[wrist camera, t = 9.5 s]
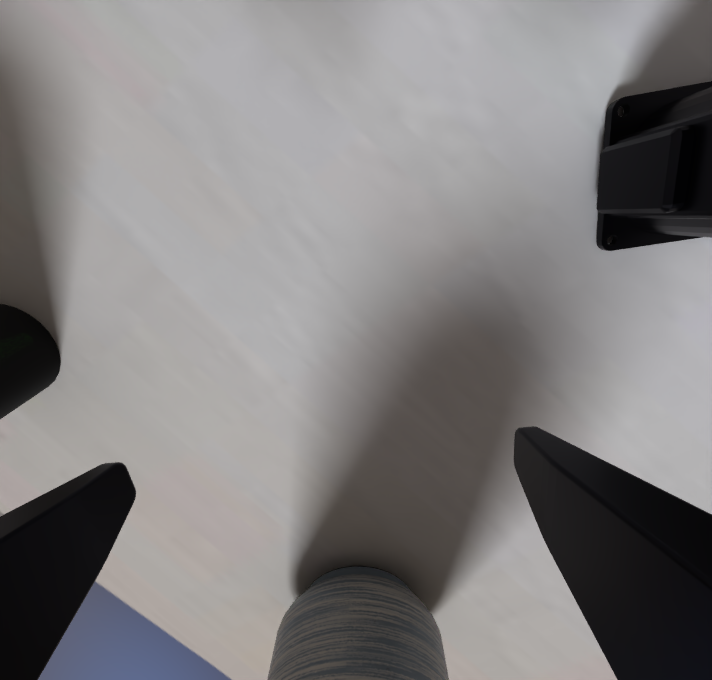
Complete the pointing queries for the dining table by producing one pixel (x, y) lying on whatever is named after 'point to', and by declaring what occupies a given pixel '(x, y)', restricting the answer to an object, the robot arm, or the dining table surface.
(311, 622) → the vase
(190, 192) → the dining table surface
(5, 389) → the cup
